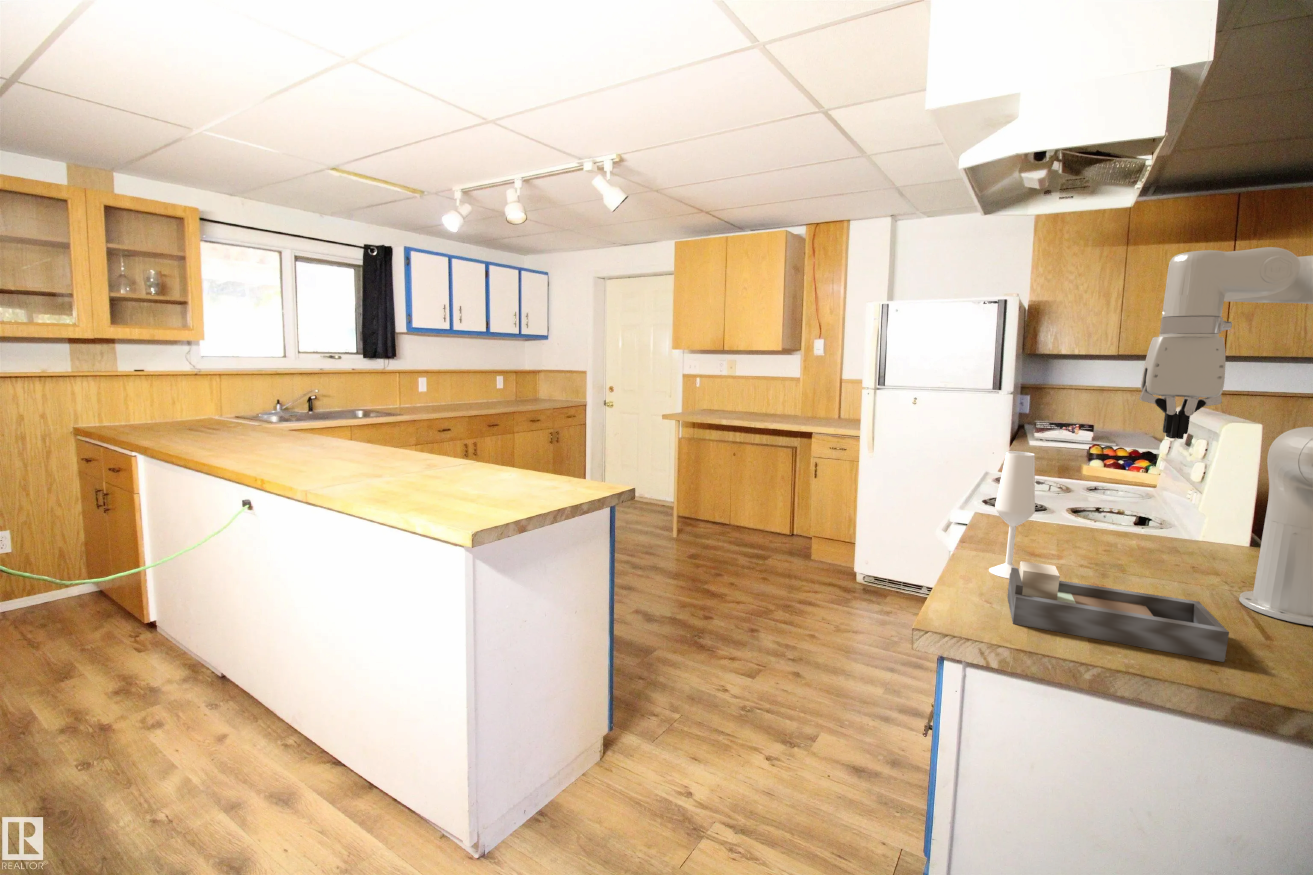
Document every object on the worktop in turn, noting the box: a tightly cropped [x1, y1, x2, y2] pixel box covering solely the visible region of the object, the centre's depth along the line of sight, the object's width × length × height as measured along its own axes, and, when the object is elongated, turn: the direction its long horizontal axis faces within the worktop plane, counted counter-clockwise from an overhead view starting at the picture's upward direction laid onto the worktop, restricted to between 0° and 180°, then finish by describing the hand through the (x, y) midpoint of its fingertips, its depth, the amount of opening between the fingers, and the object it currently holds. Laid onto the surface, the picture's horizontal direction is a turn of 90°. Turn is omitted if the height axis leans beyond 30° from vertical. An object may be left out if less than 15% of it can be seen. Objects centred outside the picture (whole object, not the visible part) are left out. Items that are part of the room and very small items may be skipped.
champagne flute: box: [988, 450, 1036, 579], centre depth 118 cm, size 7×7×24 cm
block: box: [1018, 560, 1061, 600], centre depth 100 cm, size 5×5×5 cm
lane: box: [1007, 567, 1230, 663], centre depth 97 cm, size 26×12×6 cm, turn 64°
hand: (1174, 437), depth 104 cm, fingers closed
